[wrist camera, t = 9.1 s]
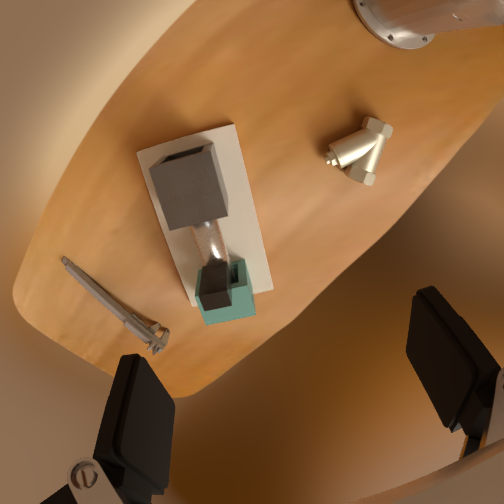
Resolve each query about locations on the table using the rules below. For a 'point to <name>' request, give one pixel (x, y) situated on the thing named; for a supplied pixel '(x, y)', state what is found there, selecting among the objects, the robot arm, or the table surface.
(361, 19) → the robot arm
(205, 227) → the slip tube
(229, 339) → the table surface
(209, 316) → the socket block
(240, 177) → the base board
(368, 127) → the pipe fitting
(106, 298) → the caliper
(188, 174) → the dark grey block
